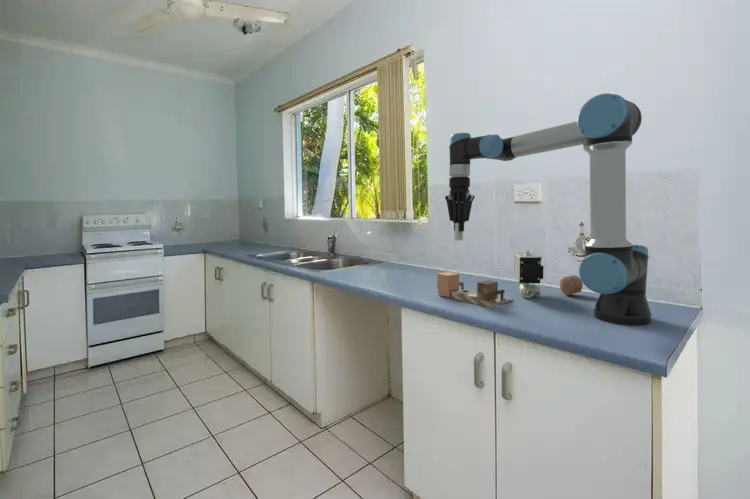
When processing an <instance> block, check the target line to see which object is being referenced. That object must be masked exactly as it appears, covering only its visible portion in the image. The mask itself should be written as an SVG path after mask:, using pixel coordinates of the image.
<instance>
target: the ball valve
mask: <svg viewBox="0 0 750 499" xmlns="http://www.w3.org/2000/svg"><path fill="white" fill-rule="evenodd" d="M542 260H543V256H541V255H537V254H535V253H533V252H532V253H531V252H530V251H529V250H526V251H525V252H514V275H513V276H514V278H515V279H516V281H518V283H519V284H520V285H519V286H518V292H519V293H520V295H521V296H522V297H523V298H525V299H530V298H534V297H535V298H536V297H538V296H540V295H541V289H540V287H541V286H539V285H536V284H541V280H543V279H544V265H542Z"/></svg>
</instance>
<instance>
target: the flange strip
mask: <svg viewBox="0 0 750 499" xmlns="http://www.w3.org/2000/svg"><path fill="white" fill-rule="evenodd" d="M458 291H461V292H466V293H470V294H474V295H477V289H472V288H464V289H463V290H462V289H458ZM513 301H514V297H513V298H512V297H508V296H504V295H503V298H501V294H498V298H497V299H496V305H497V306H498V305H503V304H506V303H510V302H511V303H512V302H513Z"/></svg>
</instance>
